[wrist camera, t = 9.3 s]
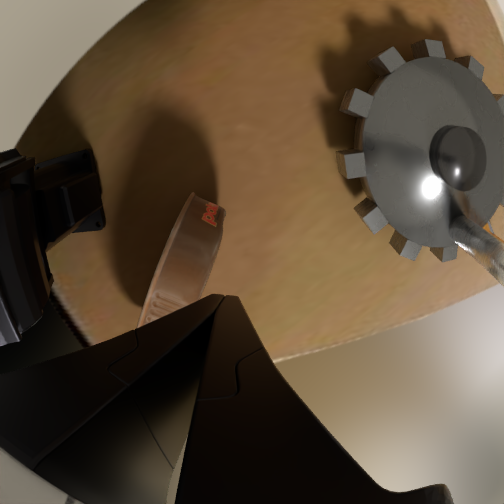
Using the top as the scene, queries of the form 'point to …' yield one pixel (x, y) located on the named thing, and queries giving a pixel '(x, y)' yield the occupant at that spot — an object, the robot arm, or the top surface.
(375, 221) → the sprocket
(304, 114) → the top surface
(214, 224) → the tin
